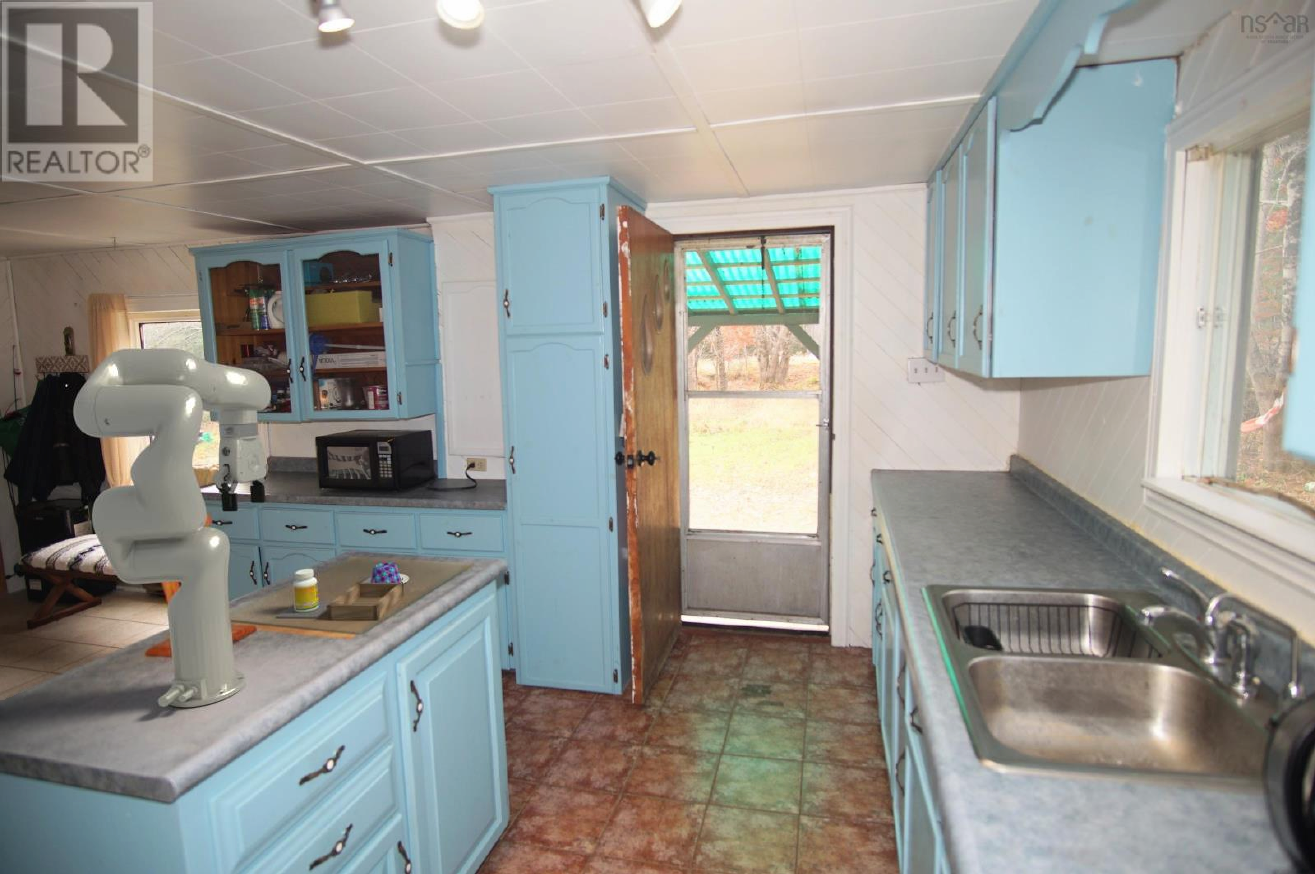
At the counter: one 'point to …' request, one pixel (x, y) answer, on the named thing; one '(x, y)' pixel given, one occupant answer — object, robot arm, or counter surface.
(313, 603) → the supplement bottle
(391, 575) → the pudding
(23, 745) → the counter surface
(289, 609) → the rubber mat
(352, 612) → the walnut box
